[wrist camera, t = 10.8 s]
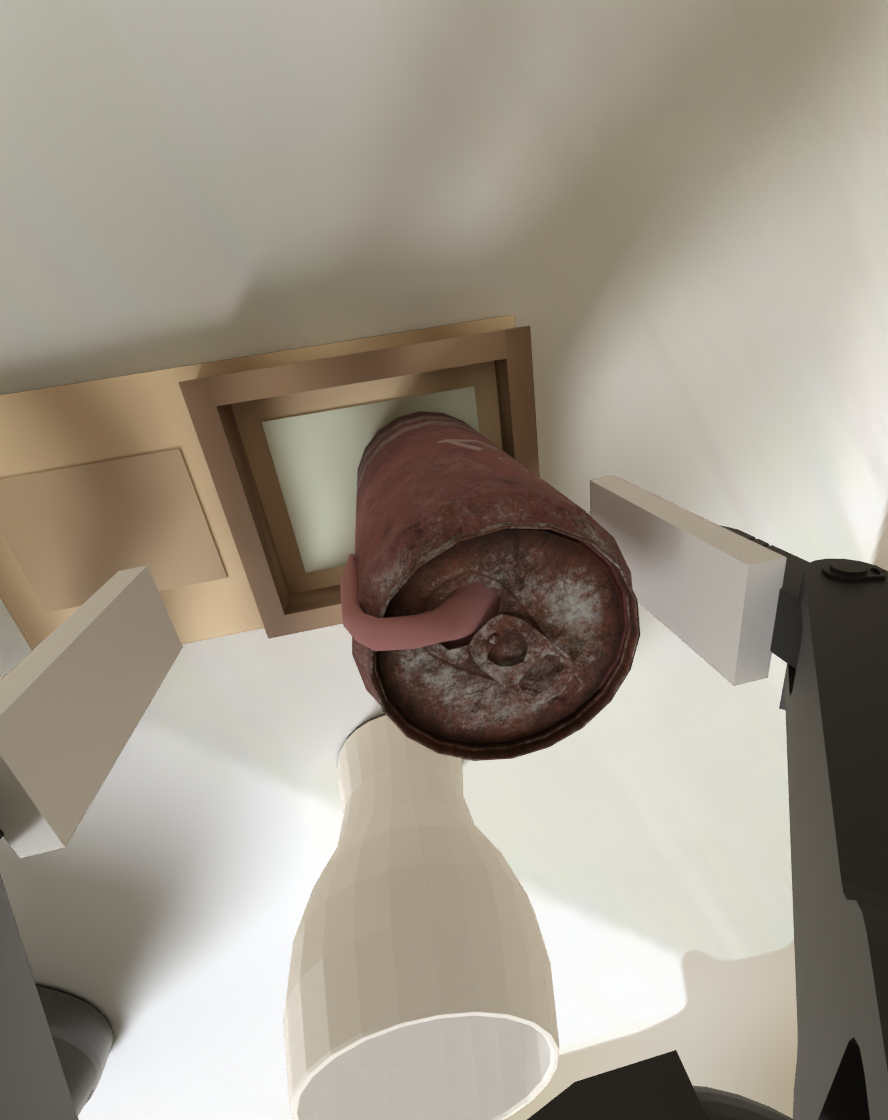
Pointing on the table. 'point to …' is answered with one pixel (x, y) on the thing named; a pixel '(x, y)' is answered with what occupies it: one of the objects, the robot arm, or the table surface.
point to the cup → (415, 955)
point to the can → (480, 595)
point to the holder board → (232, 473)
